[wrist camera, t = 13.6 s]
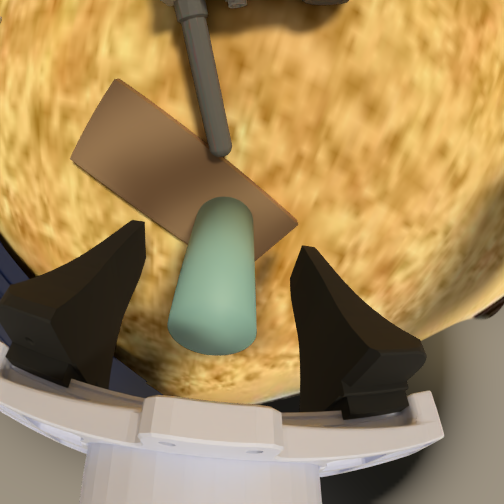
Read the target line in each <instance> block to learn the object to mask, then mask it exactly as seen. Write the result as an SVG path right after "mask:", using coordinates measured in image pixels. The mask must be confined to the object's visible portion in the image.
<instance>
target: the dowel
mask: <svg viewBox="0 0 504 504" xmlns="http://www.w3.org/2000/svg"><path fill="white" fill-rule="evenodd" d="M168 330H169V333H170V334H171V336H172V337H173V339H174V340H175V341H176V342H178V343H179V344H180V345H182V346H183V347H185V348H187V349H189V350H191V351H194V352H197V353H201V354H206V355H229V354H234V353H237V352H240V351H242V350H244V349H246V348H247V347H249V346H250V345H251V344H252V343H253V341H254V340H255V338H256V333H257V330H256V295H255V262H254V229H253V216H252V213H251V211H250V210H249V208H248V207H247V206H246V205H245V204H244V203H243V202H241V201H239V200H237V199H235V198H232V197H216V198H213V199H211V200H209V201H207V202H205V203H204V204H203V205H202V206H201V208H200V209H199V211H198V213H197V216H196V220H195V223H194V226H193V230H192V233H191V236H190V240H189V243H188V247H187V250H186V254H185V257H184V261H183V264H182V268H181V272H180V275H179V279H178V283H177V287H176V291H175V294H174V298H173V302H172V306H171V310H170V314H169V319H168Z"/></svg>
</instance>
